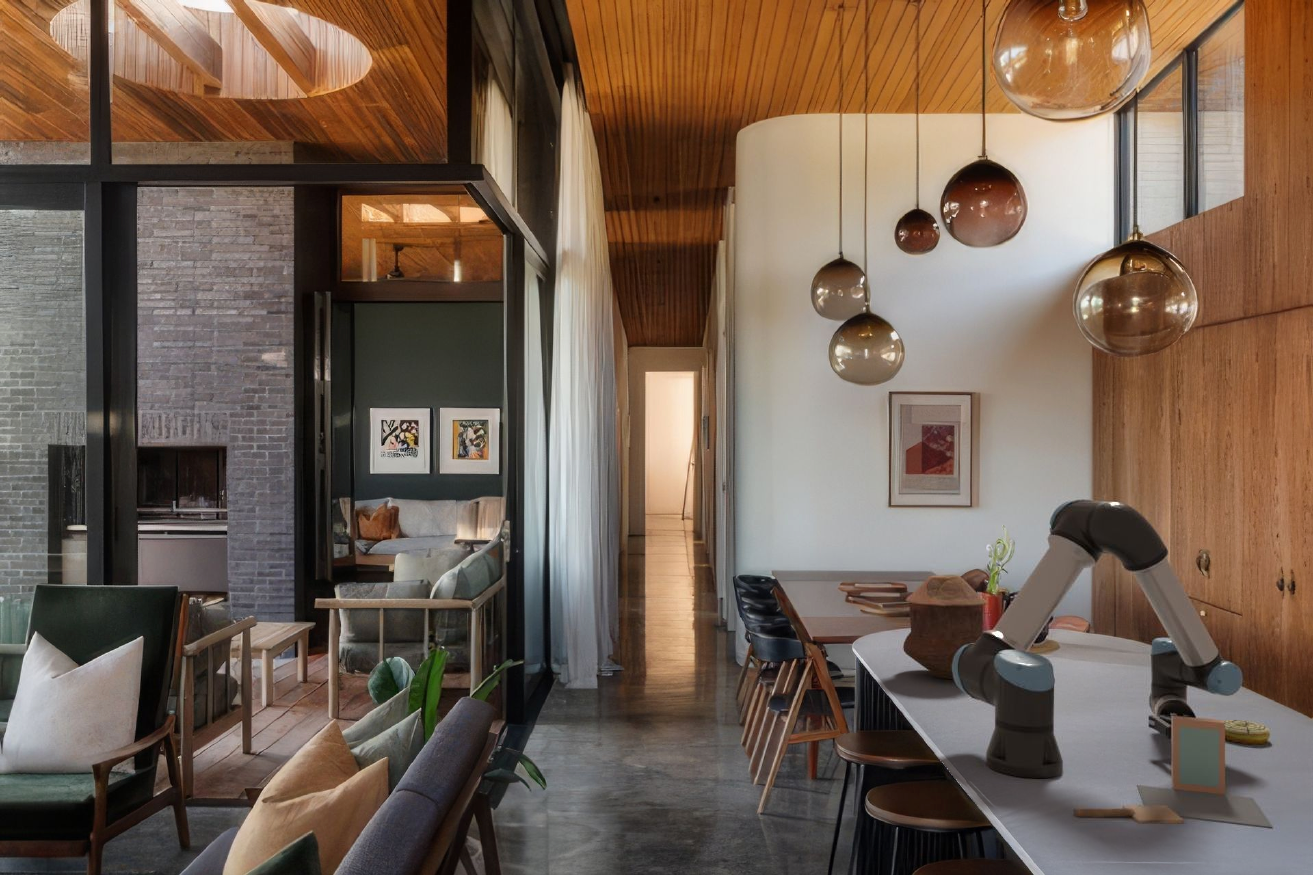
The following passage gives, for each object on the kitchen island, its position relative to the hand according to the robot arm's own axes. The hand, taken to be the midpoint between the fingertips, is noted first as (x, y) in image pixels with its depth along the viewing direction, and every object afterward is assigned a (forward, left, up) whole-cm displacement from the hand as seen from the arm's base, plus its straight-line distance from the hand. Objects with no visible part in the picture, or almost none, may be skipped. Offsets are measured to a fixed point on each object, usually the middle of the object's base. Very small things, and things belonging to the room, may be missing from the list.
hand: (1192, 744), depth 202 cm
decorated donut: (+16, +37, -7) cm, 41 cm away
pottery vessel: (-53, +79, -7) cm, 95 cm away
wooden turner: (-14, -29, -7) cm, 33 cm away
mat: (-1, -18, -7) cm, 19 cm away
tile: (0, -8, -7) cm, 11 cm away
